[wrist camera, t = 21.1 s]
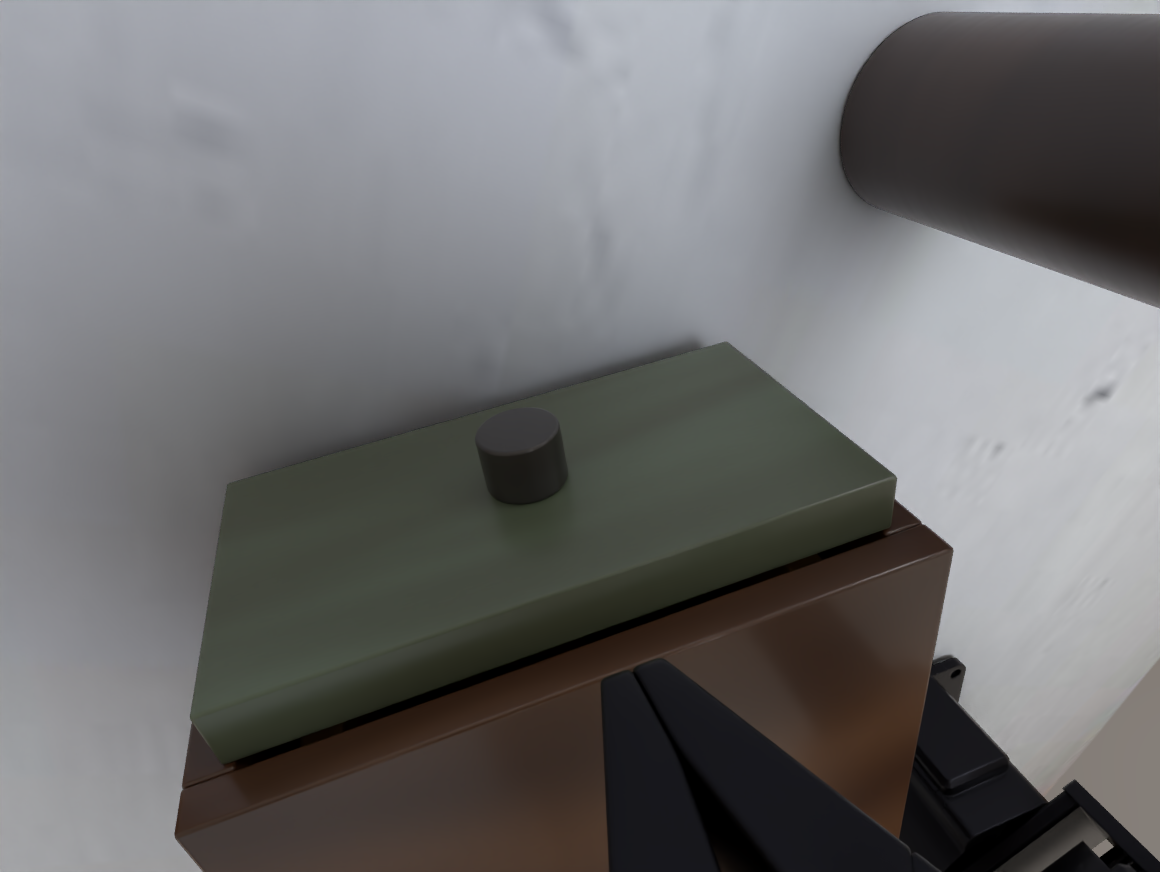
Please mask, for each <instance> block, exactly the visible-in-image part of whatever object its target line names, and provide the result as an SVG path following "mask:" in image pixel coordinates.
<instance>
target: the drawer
mask: <svg viewBox="0 0 1160 872" xmlns="http://www.w3.org/2000/svg"><path fill="white" fill-rule="evenodd" d="M896 482H897V477H896V476H895V475H894V474H893V473H892V472H891V471H889V470H888V469H887V468H885V467H884V466H883V465H882V464H880V463H879V462H878V461H877V460H875V459H874V458H873V457H872V456H870V455H869V454H868V453H867V452H865V451H864V450H863V449H862V448H860V447H859V446H858V445H857V444H855V443H854V442H853V441H852V440H850V439H849V438H848V437H847V436H845V435H844V434H843V433H841V432H840V431H839V430H838V429H836V428H835V427H834V426H833V425H831V424H830V423H829V422H828V421H826V420H825V419H824V418H823V417H821V416H820V415H819V414H818V413H816V412H815V411H814V410H813V409H811V408H810V407H809V406H808V405H806V404H805V403H804V402H803V401H801V400H800V399H799V398H797V397H796V396H795V395H794V394H792V393H791V392H790V391H789V390H787V389H786V388H785V387H784V386H782V385H781V384H780V383H779V382H777V381H776V380H775V379H774V378H772V377H771V376H770V375H769V374H767V373H766V372H765V371H764V370H762V369H761V368H760V367H758V366H757V365H756V364H755V363H753V362H752V361H751V360H750V359H748V358H747V357H746V356H745V355H743V354H742V353H741V352H740V351H738V350H737V349H736V348H735V347H733V346H732V345H731V344H730V343H728V342H722V343H719V344H715V345H712V346H708V347H705V348H701V349H698V350H694V351H691V352H687V353H684V354H680V355H677V356H673V357H670V358H666V359H663V360H659V361H656V362H652V363H649V364H645V365H642V366H638V367H635V368H631V369H628V370H624V371H621V372H617V373H614V374H610V375H607V376H603V377H600V378H596V379H593V380H589V381H586V382H582V383H579V384H575V385H572V386H568V387H565V388H561V389H558V390H554V391H551V392H547V393H544V394H540V395H537V396H533V397H530V398H526V399H523V400H519V401H516V402H512V403H509V404H505V405H502V406H498V407H495V408H491V409H488V410H484V411H481V412H477V413H474V414H470V415H467V416H463V417H460V418H456V419H453V420H449V421H446V422H442V423H439V424H435V425H432V426H428V427H425V428H421V429H418V430H414V431H410V432H407V433H403V434H400V435H396V436H393V437H389V438H386V439H382V440H379V441H375V442H372V443H368V444H365V445H361V446H358V447H354V448H351V449H347V450H344V451H340V452H337V453H333V454H330V455H326V456H323V457H319V458H316V459H312V460H309V461H305V462H302V463H298V464H295V465H291V466H288V467H284V468H281V469H277V470H274V471H270V472H267V473H263V474H260V475H256V476H253V477H249V478H246V479H242V480H239V481H235V482H232V483H229V484H227V488H226V494H225V501H224V507H223V513H222V519H221V526H220V532H219V538H218V544H217V551H216V557H215V563H214V569H213V576H212V582H211V588H210V594H209V601H208V607H207V613H206V619H205V626H204V632H203V638H202V644H201V651H200V657H199V663H198V669H197V676H196V682H195V688H194V694H193V701H192V707H191V713H190V719H191V721H192V723H193V724H194V725H195V727H196V728H197V730H198V731H199V733H200V734H201V735H202V737H203V738H204V740H205V741H206V743H207V744H208V745H209V747H210V748H211V750H212V751H213V753H214V754H215V756H216V757H217V758H218V760H219V761H220V763H221V764H228V763H231V762H234V761H236V760H239V759H242V758H245V757H248V756H250V755H253V754H256V753H259V752H262V751H264V750H267V749H270V748H273V747H276V746H278V745H281V744H284V743H287V742H290V741H292V740H295V739H298V738H300V747H302V746H305V745H308V744H311V743H313V742H316V741H319V740H322V739H325V738H327V737H330V736H333V735H336V734H338V733H341V732H344V731H347V730H350V729H352V728H355V727H358V726H361V725H364V724H366V723H369V722H372V721H375V720H378V719H380V718H383V717H386V716H389V715H391V714H394V713H397V712H400V711H403V710H405V709H408V708H411V707H414V706H417V705H419V704H422V703H425V702H428V701H430V700H433V699H436V698H439V697H442V696H444V695H447V694H450V693H453V692H456V691H458V690H461V689H464V688H467V687H469V686H472V685H475V684H478V683H481V682H483V681H486V680H489V679H492V678H495V677H497V676H500V675H503V674H506V673H509V672H511V671H514V670H517V669H520V668H522V667H525V666H528V665H531V664H534V663H536V662H539V661H542V660H545V659H548V658H550V657H553V656H556V655H559V654H561V653H564V652H567V651H570V650H573V649H575V648H578V647H581V646H584V645H587V644H589V643H592V642H595V641H598V640H601V639H603V638H606V637H609V636H612V635H614V634H617V633H620V632H623V631H626V630H628V629H631V628H634V627H637V626H640V625H642V624H645V623H648V622H651V621H653V620H656V619H659V618H662V617H665V616H667V615H670V614H673V613H676V612H679V611H681V610H684V609H687V608H690V607H692V606H695V605H698V604H701V603H704V602H706V601H709V600H712V599H715V598H718V597H720V596H723V595H726V594H729V593H732V592H734V591H737V590H740V589H743V588H745V587H748V586H751V585H754V584H757V583H759V582H762V581H765V580H768V579H771V578H773V577H776V576H779V575H782V574H784V573H787V572H790V571H793V570H796V569H798V568H801V567H804V566H807V565H810V564H812V563H815V562H818V561H821V560H822V559H821V558H820V556H819V555H818V554H817V553H820V552H823V551H826V550H829V549H831V548H834V547H837V546H840V545H843V544H845V543H848V542H851V541H854V540H857V539H859V538H862V537H865V536H868V535H871V534H873V533H876V532H879V531H882V530H885V529H888V528H889V527H890V526H891V523H892V515H893V507H894V499H895V490H896Z"/></svg>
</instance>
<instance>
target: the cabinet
mask: <svg viewBox="0 0 1160 872" xmlns="http://www.w3.org/2000/svg"><path fill="white" fill-rule="evenodd" d="M817 554H818V555H819V556H820V558H821V559H822V560H821V561H818V562H815V563H812V564H810V565H807V566H804V567H801V568H798V569H796V570H793V571H790V572H787V573H784V574H782V575H779V576H776V577H773V578H771V579H768V580H765V581H762V582H759V583H757V584H754V585H751V586H748V587H745V588H743V589H740V590H737V591H734V592H732V593H729V594H726V595H723V596H720V597H718V598H715V599H712V600H709V601H706V602H704V603H701V604H698V605H695V606H692V607H690V608H687V609H684V610H681V611H679V612H676V613H673V614H670V615H667V616H665V617H662V618H659V619H656V620H653V621H651V622H648V623H645V624H642V625H640V626H637V627H634V628H631V629H628V630H626V631H623V632H620V633H617V634H614V635H612V636H609V637H606V638H603V639H601V640H598V641H595V642H592V643H589V644H587V645H584V646H581V647H578V648H575V649H573V650H570V651H567V652H564V653H561V654H559V655H556V656H553V657H550V658H548V659H545V660H542V661H539V662H536V663H534V664H531V665H528V666H525V667H522V668H520V669H517V670H514V671H511V672H509V673H506V674H503V675H500V676H497V677H495V678H492V679H489V680H486V681H483V682H481V683H478V684H475V685H472V686H469V687H467V688H464V689H461V690H458V691H456V692H453V693H450V694H447V695H444V696H442V697H439V698H436V699H433V700H430V701H428V702H425V703H422V704H419V705H417V706H414V707H411V708H408V709H405V710H403V711H400V712H397V713H394V714H391V715H389V716H386V717H383V718H380V719H378V720H375V721H372V722H369V723H366V724H364V725H361V726H358V727H355V728H352V729H350V730H347V731H344V732H341V733H338V734H336V735H333V736H330V737H327V738H325V739H322V740H319V741H316V742H313V743H311V744H308V745H305V746H302V747H300V738H298V739H295V740H292V741H290V742H287V743H284V744H281V745H278V746H276V747H273V748H270V749H267V750H264V751H262V752H259V753H256V754H253V755H250V756H248V757H245V758H242V759H239V760H236V761H234V762H231V763H228V764H221V763H220V761H219V760H218V758H217V757H216V756H215V754H214V753H213V751H212V750H211V748H210V747H209V745H208V744H207V743H206V741H205V740H204V738H203V737H202V735H201V734H200V733H199V731H198V730H197V728H196V727H195V725H194V724H193V723H192V724H191V731H190V737H189V744H188V750H187V756H186V763H185V769H184V776H183V782H182V788H183V790H182V792H181V796H180V802H179V809H178V815H177V821H176V828H175V839H176V840H177V841H178V843H179V844H180V845H181V846H182V847H183V848H184V850H185V851H186V852H187V853H188V854H189V856H190V857H191V858H192V859H193V860H194V862H195V863H196V864H197V865H198V866H199V868H200V869H201V870H202V871H203V872H609V863H608V842H607V820H606V798H605V777H604V755H603V734H602V712H601V690H600V684H601V680H602V679H603V678H605V677H607V676H610V675H613V674H615V673H618V672H621V671H624V670H630V671H631V672H633V668H634V667H635V666H637V665H640V664H642V663H645V662H648V661H650V660H653V659H656V658H663V659H666V660H667V661H669V662H670V663H671V664H673V665H674V666H675V667H677V668H678V669H679V670H680V671H682V672H683V673H684V674H686V675H687V676H688V677H689V678H691V679H692V680H693V681H695V682H696V683H697V684H699V685H700V686H701V687H702V688H704V689H705V690H706V691H708V692H709V693H710V694H711V695H713V696H714V697H715V698H717V699H718V700H719V701H721V702H722V703H723V704H724V705H726V706H727V707H728V708H730V709H731V710H732V711H733V712H735V713H736V714H737V715H739V716H740V717H741V718H743V719H744V720H745V721H746V722H748V723H749V724H750V725H752V726H753V727H754V728H756V729H757V730H758V731H759V732H761V733H762V734H763V735H765V736H766V737H767V738H768V739H770V740H771V741H772V742H774V743H775V744H776V745H778V746H779V747H780V748H781V749H783V750H784V751H785V752H787V753H788V754H789V755H790V756H792V757H793V758H794V759H796V760H797V761H798V762H800V763H801V764H802V765H803V766H805V767H806V768H807V769H809V770H810V771H811V772H813V773H814V774H815V775H816V776H818V777H819V778H820V779H822V780H823V781H824V782H825V783H827V784H828V785H829V786H831V787H832V788H833V789H835V790H836V791H837V792H838V793H840V794H841V795H842V796H844V797H845V798H846V799H847V800H849V801H850V802H851V803H853V804H854V805H855V806H857V807H858V808H859V809H860V810H862V811H863V812H864V813H866V814H867V815H868V816H870V817H871V818H872V819H873V820H875V821H876V822H877V823H879V824H880V825H881V826H882V827H884V828H885V829H886V830H888V831H889V832H890V833H892V834H893V835H894V836H895V837H897V838H898V839H899V835H900V830H901V825H902V819H903V814H904V809H905V803H906V798H907V793H908V788H909V782H910V777H911V772H912V767H913V761H914V756H915V751H916V745H917V740H918V735H919V730H920V724H921V719H922V714H923V709H924V703H925V698H926V693H927V688H928V682H929V677H930V672H931V666H932V661H933V656H934V651H935V645H936V640H937V635H938V630H939V624H940V619H941V614H942V609H943V603H944V598H945V593H946V587H947V582H948V577H949V572H950V566H951V561H952V556H953V548H952V547H951V546H950V545H949V544H948V543H946V542H945V541H944V540H943V539H942V538H940V537H939V536H938V535H937V534H936V533H934V532H933V531H932V530H931V529H930V528H928V527H927V526H926V525H924V524H922V523H921V521H920V520H919V519H918V518H917V517H915V516H914V515H913V514H912V513H911V512H909V511H908V510H907V509H906V508H905V507H904V506H902V505H901V504H900V503H899V502H898V501H896V500H895V499H894V507H893V515H892V523H891V526H890V527H889V528H888V529H885V530H882V531H879V532H876V533H873V534H871V535H868V536H865V537H862V538H859V539H857V540H854V541H851V542H848V543H845V544H843V545H840V546H837V547H834V548H831V549H829V550H826V551H823V552H820V553H817Z"/></svg>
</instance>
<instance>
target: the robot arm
mask: <svg viewBox="0 0 1160 872" xmlns="http://www.w3.org/2000/svg"><path fill="white" fill-rule="evenodd" d="M965 671H966V667H965V666H964V665H963V664H962V663H961V662H960V661H959V660H958V659H957V658H951V659H948V660H946V661H943V662H941V663H938V664H936V665H933V666H931V672H930V677H929V682H928V688H927V693H926V698H925V703H924V709H923V714H922V719H921V724H920V730H919V735H918V740H917V745H916V751H915V756H914V761H913V767H912V772H911V777H910V782H909V788H908V793H907V798H906V803H905V809H904V814H903V819H902V825H901V830H900V835H899V839H898V838H897V837H895V836H894V835H893V834H892V833H890V832H889V831H888V830H886V829H885V828H884V827H882V826H881V825H880V824H879V823H877V822H876V821H875V820H873V819H872V818H871V817H870V816H868V815H867V814H866V813H864V812H863V811H862V810H860V809H859V808H858V807H857V806H855V805H854V804H853V803H851V802H850V801H849V800H847V799H846V798H845V797H844V796H842V795H841V794H840V793H838V792H837V791H836V790H835V789H833V788H832V787H831V786H829V785H828V784H827V783H825V782H824V781H823V780H822V779H820V778H819V777H818V776H816V775H815V774H814V773H813V772H811V771H810V770H809V769H807V768H806V767H805V766H803V765H802V764H801V763H800V762H798V761H797V760H796V759H794V758H793V757H792V756H790V755H789V754H788V753H787V752H785V751H784V750H783V749H781V748H780V747H779V746H778V745H776V744H775V743H774V742H772V741H771V740H770V739H768V738H767V737H766V736H765V735H763V734H762V733H761V732H759V731H758V730H757V729H756V728H754V727H753V726H752V725H750V724H749V723H748V722H746V721H745V720H744V719H743V718H741V717H740V716H739V715H737V714H736V713H735V712H733V711H732V710H731V709H730V708H728V707H727V706H726V705H724V704H723V703H722V702H721V701H719V700H718V699H717V698H715V697H714V696H713V695H711V694H710V693H709V692H708V691H706V690H705V689H704V688H702V687H701V686H700V685H699V684H697V683H696V682H695V681H693V680H692V679H691V678H689V677H688V676H687V675H686V674H684V673H683V672H682V671H680V670H679V669H678V668H677V667H675V666H674V665H673V664H671V663H670V662H669V661H667V660H666V659H663V658H656V659H653V660H650V661H648V662H645V663H642V664H640V665H637V666H635V667H634V668H633V672H631V671H630V670H624V671H621V672H618V673H615V674H613V675H610V676H607V677H605V678H603V679H602V680H601V684H600V690H601V712H602V734H603V755H604V777H605V798H606V820H607V842H608V863H609V872H1160V862H1159V861H1158V860H1157V859H1156V858H1155V857H1154V856H1153V855H1152V854H1151V853H1150V852H1149V851H1148V850H1147V849H1146V848H1145V847H1144V846H1143V845H1141V843H1140V842H1139V841H1138V840H1137V839H1136V838H1135V837H1133V836H1132V835H1131V834H1130V833H1129V832H1128V831H1127V830H1126V829H1125V828H1124V827H1123V826H1122V825H1121V824H1120V823H1119V822H1118V821H1117V820H1116V819H1115V818H1114V817H1113V816H1112V815H1111V814H1110V813H1109V812H1108V811H1107V810H1106V809H1105V808H1104V807H1103V806H1102V805H1100V803H1099V802H1098V801H1097V800H1096V799H1094V798H1093V797H1092V796H1091V795H1090V794H1089V793H1088V792H1087V791H1086V790H1085V789H1084V788H1083V787H1082V786H1081V785H1080V784H1079V783H1078V782H1077V781H1076V780H1073V781H1071V782H1070V783H1069V784H1067V785H1066V786H1065V787H1063V790H1064V791H1063V792H1062V793H1061V794H1060V795H1058V796H1057V797H1055V798H1054V799H1053V800H1051V801H1050V802H1048V801H1047V800H1046V799H1045V798H1044V797H1043V796H1042V795H1041V794H1040V793H1039V792H1038V791H1037V790H1036V789H1035V787H1034V786H1033V785H1032V784H1031V783H1030V782H1029V781H1028V780H1027V779H1026V778H1025V777H1024V776H1023V775H1022V774H1021V773H1020V771H1019V770H1018V769H1017V768H1016V767H1015V766H1014V765H1013V764H1012V763H1011V762H1010V761H1009V758H1008V756H1007V755H1006V754H1005V752H1004V751H1003V750H1002V749H1001V748H1000V747H999V746H998V745H997V744H996V743H995V742H994V741H993V740H992V739H991V738H990V736H989V735H988V734H987V733H986V732H985V731H984V730H983V729H982V728H981V727H980V726H979V725H978V724H977V723H976V722H975V720H974V719H973V718H972V717H971V716H970V715H969V714H968V713H967V712H966V711H965V710H964V709H963V708H962V707H961V706H960V704H959V703H958V701H959V697H960V692H961V688H962V684H963V679H964V675H965ZM1105 839H1107V840H1108V841H1109V842H1110V843H1111V844H1112V845H1113V846H1114V847H1113V848H1112V849H1110V850H1109V851H1108V852H1106V853H1105V854H1104V855H1102V856H1101V857H1100V858H1099V857H1098V856H1097V855H1096V854H1095V853H1094V852H1093V851H1092V849H1093V848H1094V847H1096V846H1097V845H1098V844H1099V843H1101V842H1102V841H1104V840H1105Z"/></svg>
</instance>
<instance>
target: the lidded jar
mask: <svg viewBox="0 0 1160 872" xmlns="http://www.w3.org/2000/svg"><path fill="white" fill-rule="evenodd" d="M841 156H842V161H843V166H844V169H845V173H846V176H847V178H848V180H849V182H850V184H851V186H852V187H853V189H854V190H855V191H856V193H857V194H858V195H859V196H860V197H861V198H862V199H863V200H864V201H866V202H867V203H868V204H870V205H872V206H874V207H876V208H878V209H881V210H884V211H887V212H890V213H892V214H895V215H898V216H901V217H904V218H906V219H909V220H912V221H915V222H918V223H921V224H923V225H926V226H929V227H932V228H935V229H937V230H940V231H943V232H946V233H949V234H952V235H954V236H957V237H960V238H963V239H966V240H969V241H971V242H974V243H977V244H980V245H983V246H985V247H988V248H991V249H994V250H997V251H1000V252H1002V253H1005V254H1008V255H1011V256H1014V257H1016V258H1019V259H1022V260H1025V261H1028V262H1031V263H1033V264H1036V265H1039V266H1042V267H1045V268H1048V269H1050V270H1053V271H1056V272H1059V273H1062V274H1064V275H1067V276H1070V277H1073V278H1076V279H1079V280H1081V281H1084V282H1087V283H1090V284H1093V285H1095V286H1098V287H1101V288H1104V289H1107V290H1110V291H1112V292H1115V293H1118V294H1121V295H1124V296H1127V297H1129V298H1132V299H1135V300H1138V301H1141V302H1143V303H1146V304H1149V305H1152V306H1155V307H1158V308H1160V14H1092V13H1000V12H937V13H931V14H927V15H924V16H921V17H919V18H916V19H914V20H912V21H910V22H909V23H907V24H905V25H904V26H902V27H901V28H899V29H898V30H896V31H895V32H894V33H893V34H891V35H890V36H889V37H888V38H887V39H886V40H885V41H884V42H883V43H882V44H881V45H880V46H879V47H878V48H877V49H876V50H875V52H874V53H873V54H872V56H871V57H870V58H869V60H868V61H867V62H866V64H865V65H864V67H863V69H862V70H861V72H860V74H859V75H858V77H857V80H856V82H855V84H854V86H853V88H852V90H851V93H850V96H849V98H848V101H847V104H846V108H845V112H844V116H843V122H842V128H841Z"/></svg>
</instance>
